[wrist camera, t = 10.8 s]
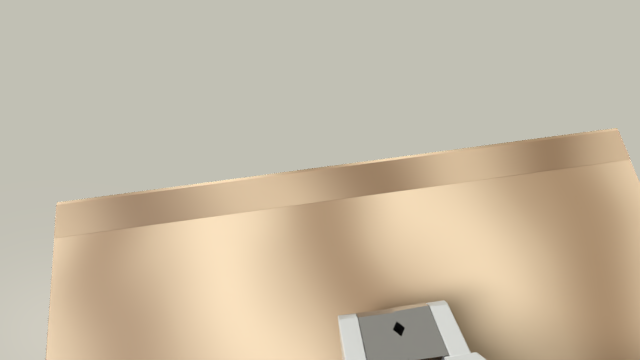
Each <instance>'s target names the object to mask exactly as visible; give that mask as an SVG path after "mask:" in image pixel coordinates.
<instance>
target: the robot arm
mask: <svg viewBox="0 0 640 360" xmlns="http://www.w3.org/2000/svg"><path fill="white" fill-rule="evenodd" d="M338 324H339V334H340V343H341V351H342V359H343V360H486V359H485V358H484V357H482V356H481V355H480V354H478V353H477V352H473V353H471V351H470V349H469V347H468V345H467V343H466V341H465V339H464V337H463V335H462V333H461V330H460V328H459V326H458V324H457V322H456V320H455V318H454V316H453V314H452V311H451V309H450V307H449V305H448V303H447V302H446V301H445V300H442V301H435V302H429V303H419V304H413V305H407V306H401V307H395V308H391V309H386V310H377V311H369V312H361V313H353V314H345V315H338Z"/></svg>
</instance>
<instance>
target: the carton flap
mask: <svg viewBox="0 0 640 360" xmlns="http://www.w3.org/2000/svg"><path fill="white" fill-rule="evenodd" d="M442 300H445V301H446V302H447V303H448V305H449V307H450V309H451V311H452V314H453V316H454V318H455V320H456V322H457V324H458V326H459V328H460V330H461V333H462V335H463V337H464V339H465V341H466V343H467V345H468V347H469V349H470V351H471V353H473V352H477V353H478V354H480V355H481V356H482V357H484V358H485V359H486V360H640V183H639V180H638V177H637V175H636V173H635V170H634V168H633V165H632V163H631V161H630V157H629V155H628V152H627V150H626V148H625V145H624V143H623V140H622V138H621V135H620V133H619V131H618V129H617V128H613V129H605V130H598V131H590V132H583V133H575V134H568V135H561V136H552V137H545V138H537V139H530V140H522V141H515V142H507V143H500V144H492V145H485V146H477V147H470V148H462V149H455V150H447V151H440V152H432V153H425V154H417V155H410V156H402V157H395V158H388V159H380V160H373V161H365V162H357V163H350V164H342V165H335V166H327V167H320V168H312V169H304V170H297V171H289V172H282V173H274V174H267V175H259V176H252V177H244V178H238V179H229V180H222V181H215V182H207V183H200V184H192V185H184V186H177V187H170V188H162V189H154V190H147V191H140V192H132V193H124V194H117V195H109V196H102V197H94V198H87V199H79V200H72V201H64V202H57V205H56V218H55V232H54V251H53V265H52V279H51V292H50V306H49V320H48V334H47V348H46V360H343V359H342V351H341V343H340V334H339V324H338V315H345V314H353V313H361V312H369V311H377V310H386V309H391V308H395V307H401V306H407V305H413V304H419V303H429V302H435V301H442Z"/></svg>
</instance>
